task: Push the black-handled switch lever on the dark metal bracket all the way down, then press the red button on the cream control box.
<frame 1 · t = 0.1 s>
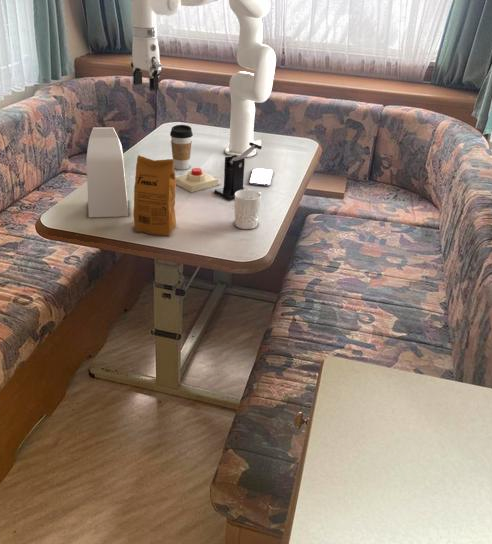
hand: (145, 87, 194), 31 cm above the table, tool pointing down, fingers open, 9 cm apart
coffee package: (154, 229, 172), on the table
mobile phone: (261, 178, 211), on the table
switch bracket: (233, 193, 197), on the table
coffee cup: (181, 167, 218), on the table
switch lever: (244, 154, 193), point 13 cm above the table, hinge at 25.0°
control box: (196, 184, 204), on the table
button: (196, 172, 201), point 4 cm above the table, slide at 0.1 cm
white cup: (245, 225, 176), on the table
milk: (108, 209, 183), on the table
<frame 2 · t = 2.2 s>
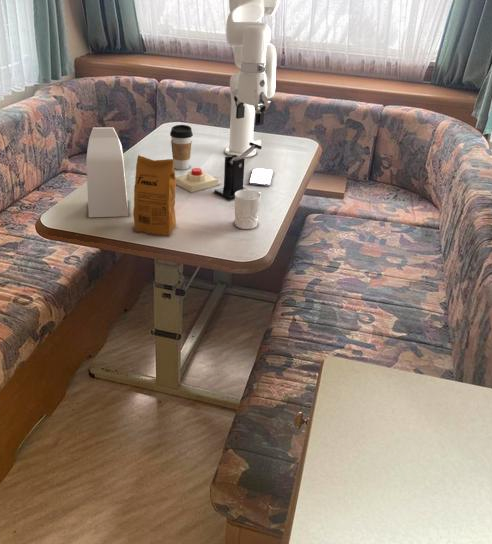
hand: (249, 121, 192), 23 cm above the table, tool pointing down, fingers open, 9 cm apart
nothing on the table moved.
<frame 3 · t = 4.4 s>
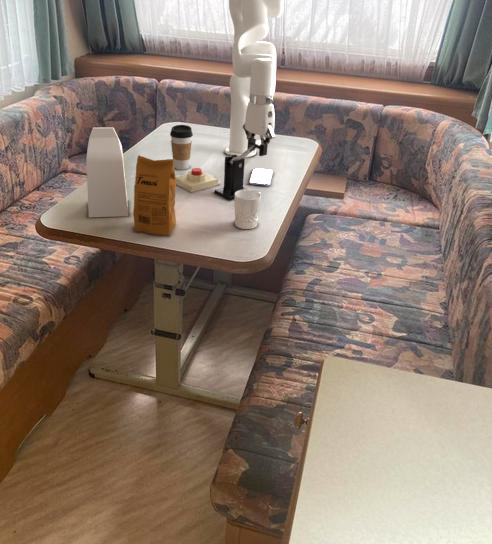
hand: (257, 152, 197), 13 cm above the table, tool pointing down, fingers closed on switch lever, 5 cm apart
switch lever: (244, 154, 193), point 13 cm above the table, hinge at 25.0°, touching gripper
everything else where it was.
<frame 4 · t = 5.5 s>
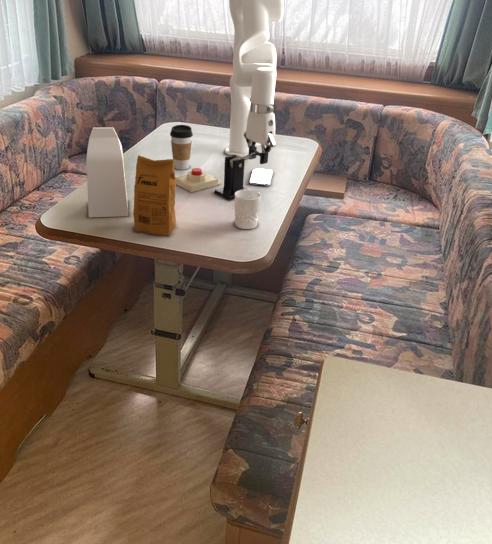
hand: (257, 160, 198), 10 cm above the table, tool pointing down, fingers closed on switch lever, 5 cm apart
switch lever: (244, 158, 194), point 12 cm above the table, hinge at 8.7°, touching gripper
everything else where it was.
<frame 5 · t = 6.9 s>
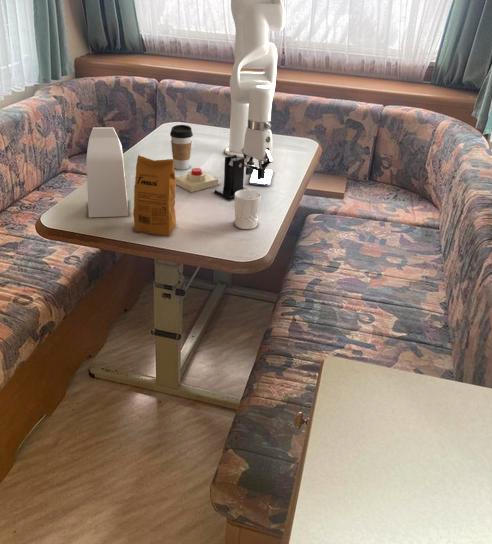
hand: (255, 175, 201), 4 cm above the table, tool pointing down, fingers closed on switch lever, 5 cm apart
switch lever: (243, 165, 195), point 9 cm above the table, hinge at -21.0°, touching gripper
everything else where it was.
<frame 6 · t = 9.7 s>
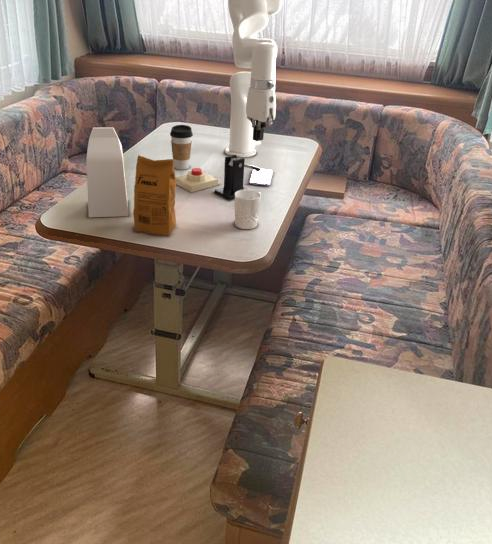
hand: (257, 139, 194), 17 cm above the table, tool pointing down, fingers closed
switch lever: (243, 165, 195), point 9 cm above the table, hinge at -21.3°
everything else where it was.
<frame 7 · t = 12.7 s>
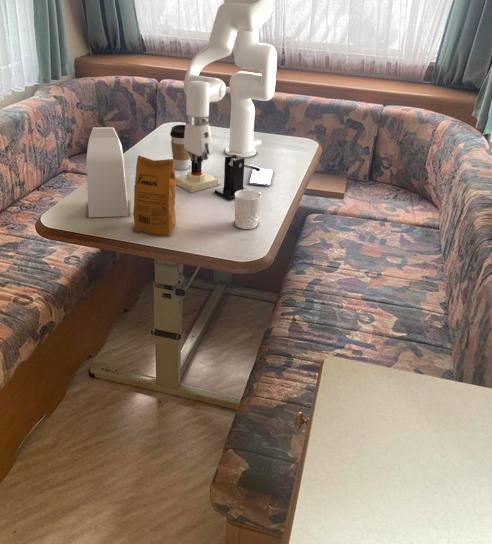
hand: (196, 172, 201), 4 cm above the table, tool pointing down, fingers closed
button: (196, 174, 202), point 4 cm above the table, slide at -0.8 cm, touching gripper
everything else where it was.
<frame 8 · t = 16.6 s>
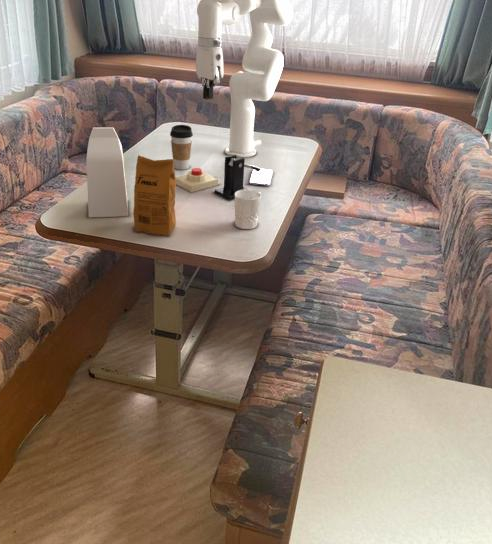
hand: (208, 98, 200), 27 cm above the table, tool pointing down, fingers closed
button: (196, 172, 201), point 4 cm above the table, slide at 0.1 cm
everything else where it was.
at the end: switch lever at -21° (first picture: +25°); button pushed in 1.1 cm at the most during the clip, back to where it started at the end; button slide at 0.1 cm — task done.
